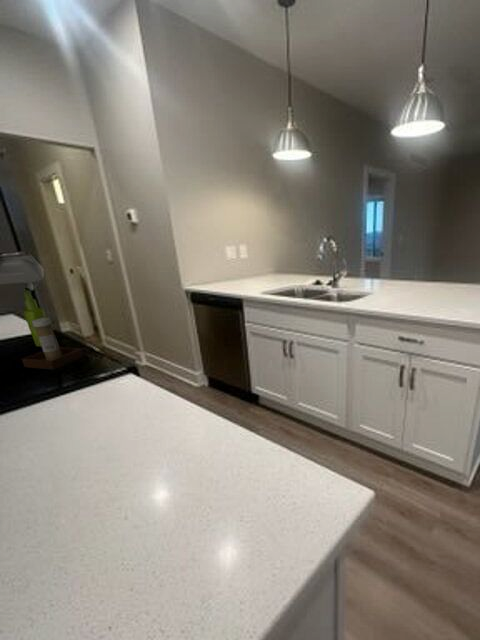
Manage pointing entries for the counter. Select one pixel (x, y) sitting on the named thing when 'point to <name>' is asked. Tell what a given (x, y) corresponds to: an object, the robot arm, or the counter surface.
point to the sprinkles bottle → (47, 338)
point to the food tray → (67, 357)
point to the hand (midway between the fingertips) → (9, 290)
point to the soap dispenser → (32, 315)
